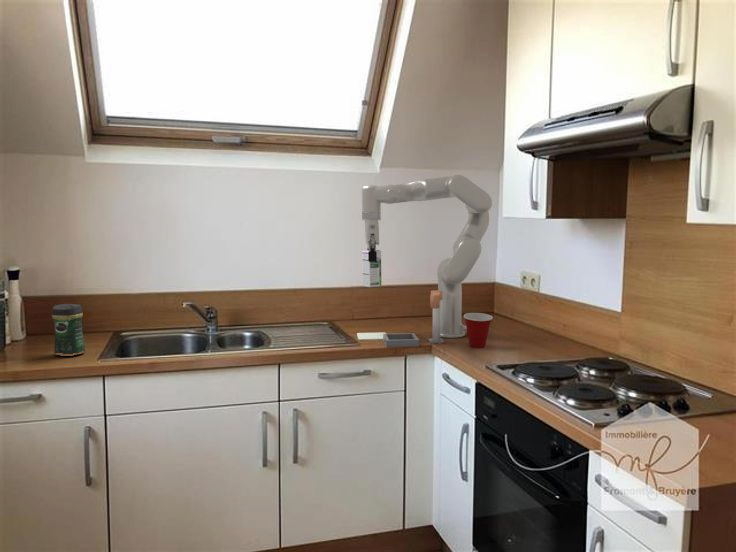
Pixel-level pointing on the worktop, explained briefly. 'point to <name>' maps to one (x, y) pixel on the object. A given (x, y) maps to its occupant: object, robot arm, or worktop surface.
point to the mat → (370, 336)
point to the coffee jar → (68, 328)
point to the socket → (411, 338)
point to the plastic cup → (477, 328)
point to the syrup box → (371, 270)
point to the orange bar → (435, 299)
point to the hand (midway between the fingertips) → (371, 260)
